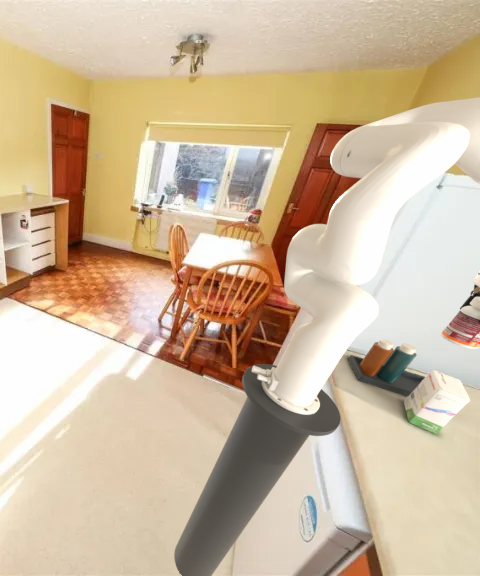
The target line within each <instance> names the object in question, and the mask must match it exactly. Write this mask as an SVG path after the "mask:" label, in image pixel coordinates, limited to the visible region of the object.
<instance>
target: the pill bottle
mask: <svg viewBox="0 0 480 576" xmlns="http://www.w3.org/2000/svg"><path fill="white" fill-rule="evenodd" d="M470 304H471V305H472V306H465V307H463V308H462V309H461V310H460V309H459V311H458V312H457V314H456V315H455V316H454V317H453V318H452V319H451V321H450V322H449V323H448V324H447V326H445V327H444V329H443V330H442V331H441V333H440V336H441V337H442V338H443V339H444V340H445V341H446V340H447V342H449V343H452V344H453V345H455V346H459V347H461V348H466V349H471V350H477V349H479V348H480V323H479V321H480V297H475V298H474V299H473V300H472V301H471V302H470Z"/></svg>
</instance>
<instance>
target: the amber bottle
mask: <svg viewBox="0 0 480 576" xmlns="http://www.w3.org/2000/svg"><path fill="white" fill-rule="evenodd" d="M394 346H395V343H393V342H392V341H391V340H388V339H384V338H381V339H380V340H379V341H375V342H374V343H373V344H372V346H371V347H370V349H369V350H368V351H367V353H366V354H365V356H364V357H363V358H364V359H363V360H362V362H361V363H360V365H359V367H360V369H361V371H362V373H363V374H365V375H368V376H375V375H376V374H377V372H378V371H379V370H380V368H381V367H382V366H383V364H384V363H385V362H386V360H387V359H388V358H389V356H390V355H391V354H392V352H393V351H394V349H393V348H394Z"/></svg>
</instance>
